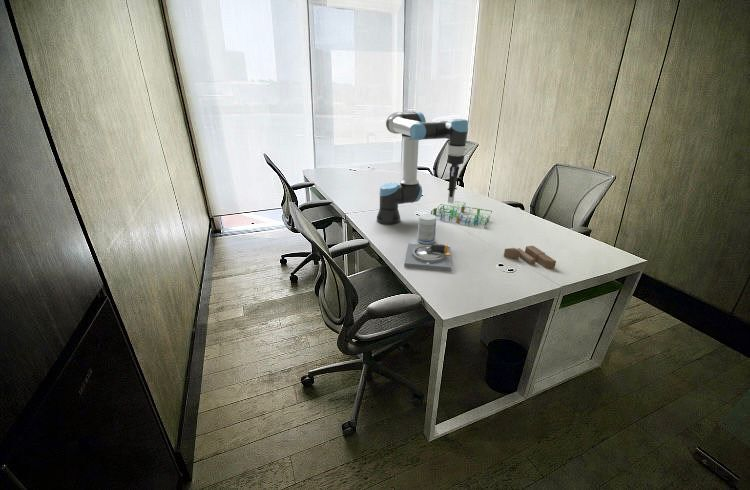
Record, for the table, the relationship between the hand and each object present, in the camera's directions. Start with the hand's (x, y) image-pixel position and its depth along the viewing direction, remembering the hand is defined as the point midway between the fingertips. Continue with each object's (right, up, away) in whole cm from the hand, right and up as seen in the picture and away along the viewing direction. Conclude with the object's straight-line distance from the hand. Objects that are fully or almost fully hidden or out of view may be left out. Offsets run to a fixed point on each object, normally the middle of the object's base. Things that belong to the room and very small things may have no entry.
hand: (450, 202), depth 165 cm
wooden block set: (+38, -30, -1) cm, 49 cm away
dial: (-9, -26, +1) cm, 28 cm away
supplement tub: (-9, -19, +20) cm, 29 cm away
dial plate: (-11, -28, +2) cm, 30 cm away
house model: (+21, -2, +56) cm, 60 cm away
